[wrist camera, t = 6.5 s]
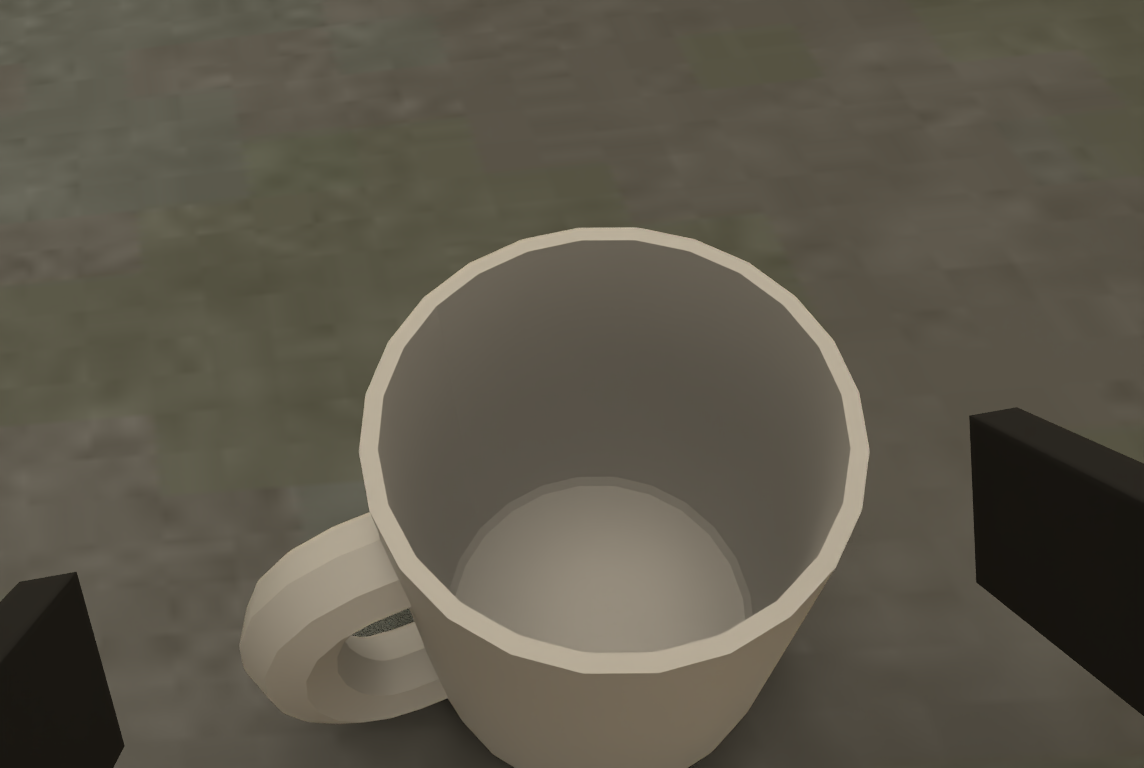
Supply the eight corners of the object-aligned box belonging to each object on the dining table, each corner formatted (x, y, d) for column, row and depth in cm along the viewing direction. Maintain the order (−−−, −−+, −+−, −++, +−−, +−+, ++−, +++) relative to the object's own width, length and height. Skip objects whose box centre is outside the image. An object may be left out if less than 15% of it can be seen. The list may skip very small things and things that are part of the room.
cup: (827, 713, 21) (972, 548, 13) (363, 923, 19) (225, 870, 11) (675, 431, 25) (723, 174, 17) (270, 584, 23) (116, 371, 15)
